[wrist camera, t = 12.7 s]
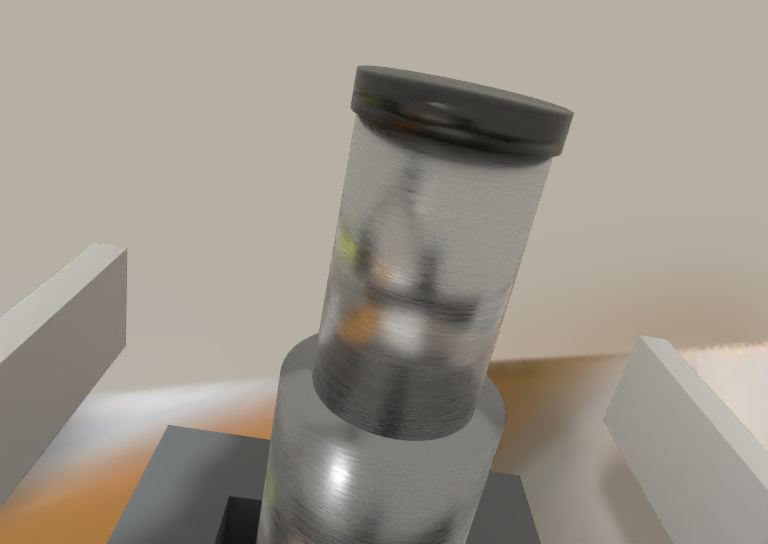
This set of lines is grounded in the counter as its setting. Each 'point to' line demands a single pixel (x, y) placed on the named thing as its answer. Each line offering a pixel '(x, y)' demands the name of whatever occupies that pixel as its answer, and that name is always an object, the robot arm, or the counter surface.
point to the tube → (410, 316)
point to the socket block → (260, 495)
